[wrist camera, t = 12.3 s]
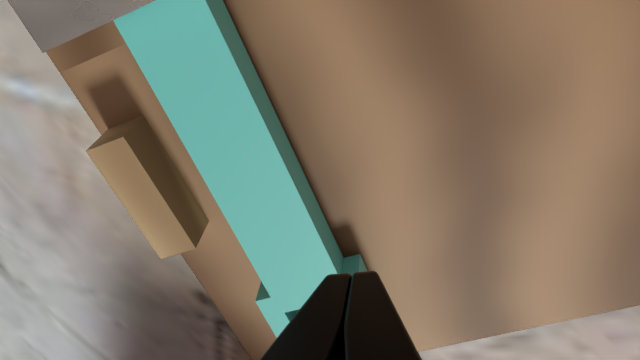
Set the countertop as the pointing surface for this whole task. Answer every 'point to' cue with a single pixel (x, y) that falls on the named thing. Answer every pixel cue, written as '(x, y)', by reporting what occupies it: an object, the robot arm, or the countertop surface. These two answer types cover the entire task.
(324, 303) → the robot arm
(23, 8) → the block
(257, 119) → the link
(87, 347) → the countertop surface
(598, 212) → the board
